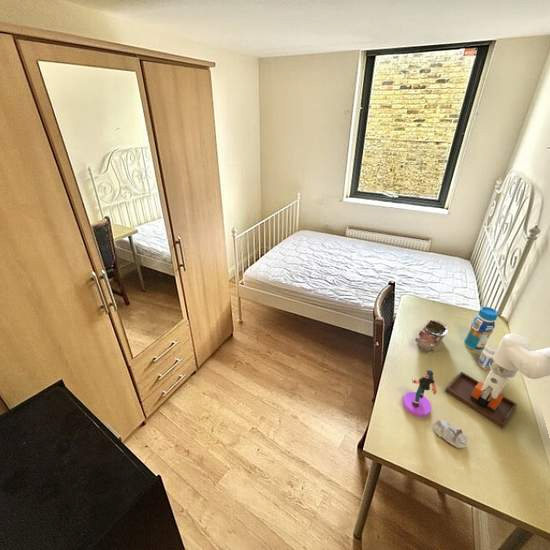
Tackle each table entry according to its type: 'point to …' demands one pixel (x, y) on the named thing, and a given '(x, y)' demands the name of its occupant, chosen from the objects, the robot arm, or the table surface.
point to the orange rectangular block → (493, 402)
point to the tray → (462, 392)
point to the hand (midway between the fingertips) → (484, 400)
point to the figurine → (420, 396)
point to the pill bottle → (486, 357)
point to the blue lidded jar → (481, 329)
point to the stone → (450, 433)
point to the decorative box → (431, 335)
